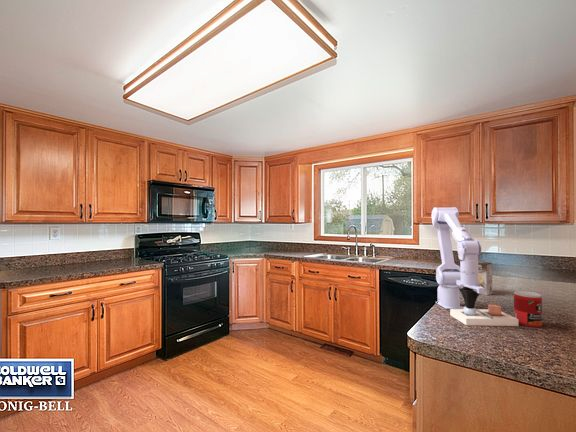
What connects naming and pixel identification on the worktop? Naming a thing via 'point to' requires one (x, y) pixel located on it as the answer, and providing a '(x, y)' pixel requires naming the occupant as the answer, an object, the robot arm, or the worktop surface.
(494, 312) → the orange rounded piece
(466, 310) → the pale blue rounded piece
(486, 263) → the coffee box
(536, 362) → the worktop surface
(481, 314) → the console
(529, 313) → the canned food
